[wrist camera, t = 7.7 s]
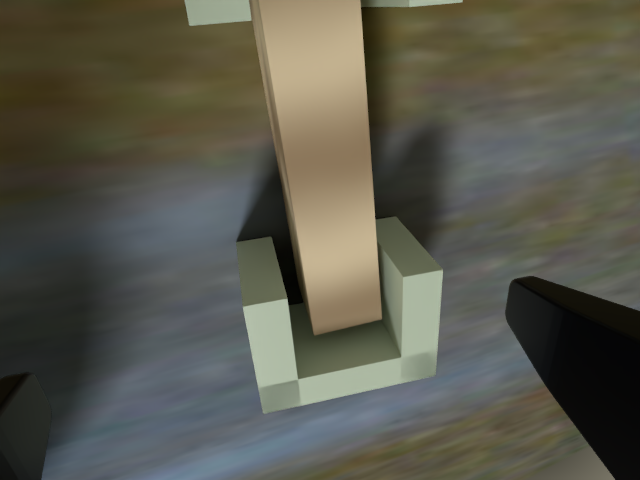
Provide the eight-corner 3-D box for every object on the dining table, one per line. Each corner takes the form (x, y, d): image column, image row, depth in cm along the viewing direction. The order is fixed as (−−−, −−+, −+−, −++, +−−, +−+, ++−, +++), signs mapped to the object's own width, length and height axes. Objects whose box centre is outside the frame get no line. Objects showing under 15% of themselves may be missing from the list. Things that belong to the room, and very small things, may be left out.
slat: (355, 271, 23) (381, 319, 19) (298, 284, 22) (314, 335, 19) (320, -91, 15) (352, -120, 12) (234, -82, 15) (240, -109, 12)
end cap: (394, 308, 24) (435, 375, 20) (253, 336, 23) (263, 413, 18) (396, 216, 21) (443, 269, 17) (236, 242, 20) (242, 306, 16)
